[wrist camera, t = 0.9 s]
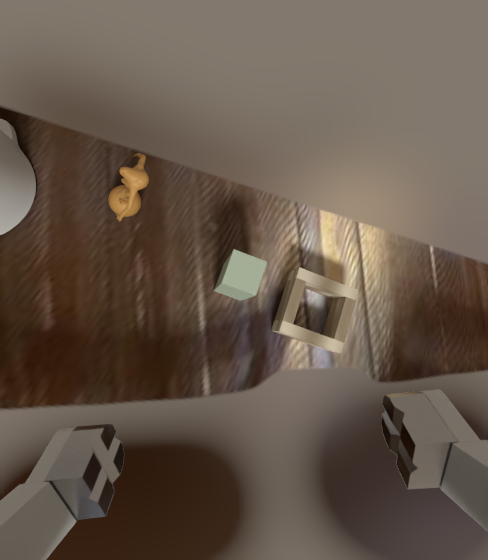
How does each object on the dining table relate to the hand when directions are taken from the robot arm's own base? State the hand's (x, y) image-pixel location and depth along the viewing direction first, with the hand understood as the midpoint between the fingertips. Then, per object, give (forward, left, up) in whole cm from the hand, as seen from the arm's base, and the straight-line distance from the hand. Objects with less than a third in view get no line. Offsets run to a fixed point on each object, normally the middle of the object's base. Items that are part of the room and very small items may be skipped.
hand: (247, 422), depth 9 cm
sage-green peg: (+1, +9, -34) cm, 35 cm away
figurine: (-15, +14, -34) cm, 39 cm away
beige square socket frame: (+13, +9, -34) cm, 37 cm away
